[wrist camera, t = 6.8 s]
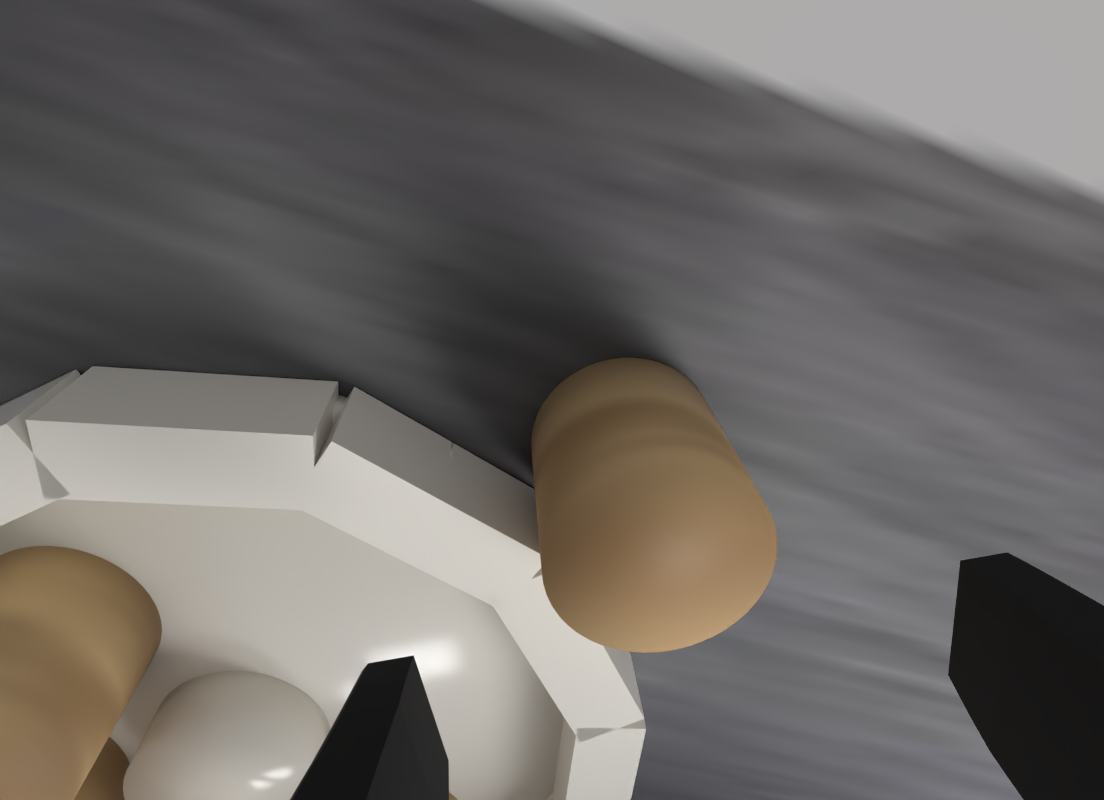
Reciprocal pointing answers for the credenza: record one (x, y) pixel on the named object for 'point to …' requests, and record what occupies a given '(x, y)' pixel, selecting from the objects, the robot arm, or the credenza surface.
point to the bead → (645, 510)
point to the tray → (313, 583)
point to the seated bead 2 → (105, 775)
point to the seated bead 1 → (66, 664)
